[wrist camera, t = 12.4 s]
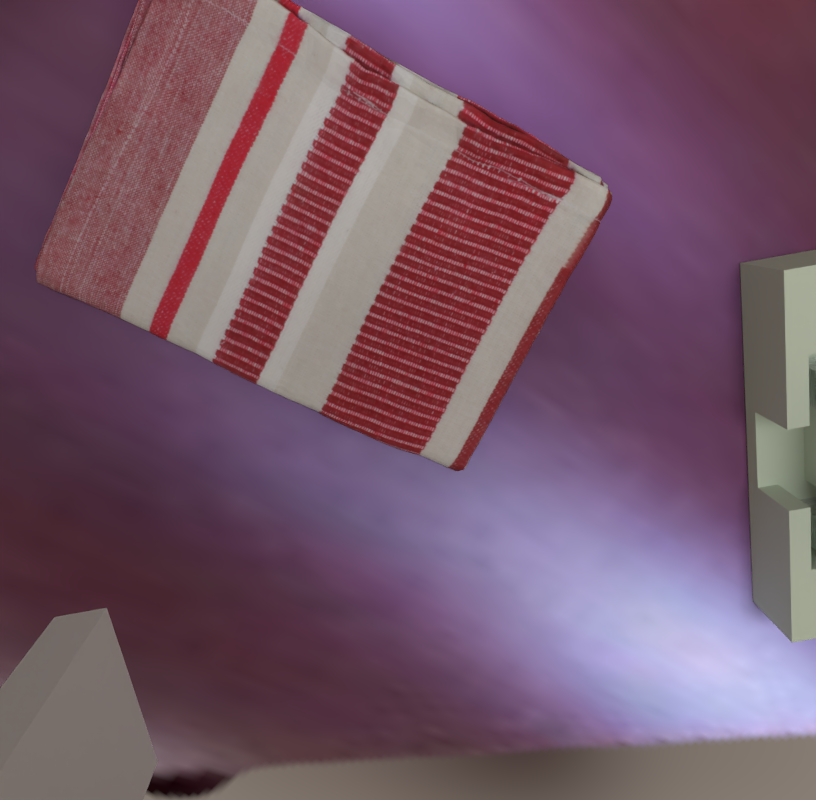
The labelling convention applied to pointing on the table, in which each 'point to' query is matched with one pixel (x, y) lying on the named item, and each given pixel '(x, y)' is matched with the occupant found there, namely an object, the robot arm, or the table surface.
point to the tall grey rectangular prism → (815, 402)
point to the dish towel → (319, 220)
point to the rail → (781, 436)
